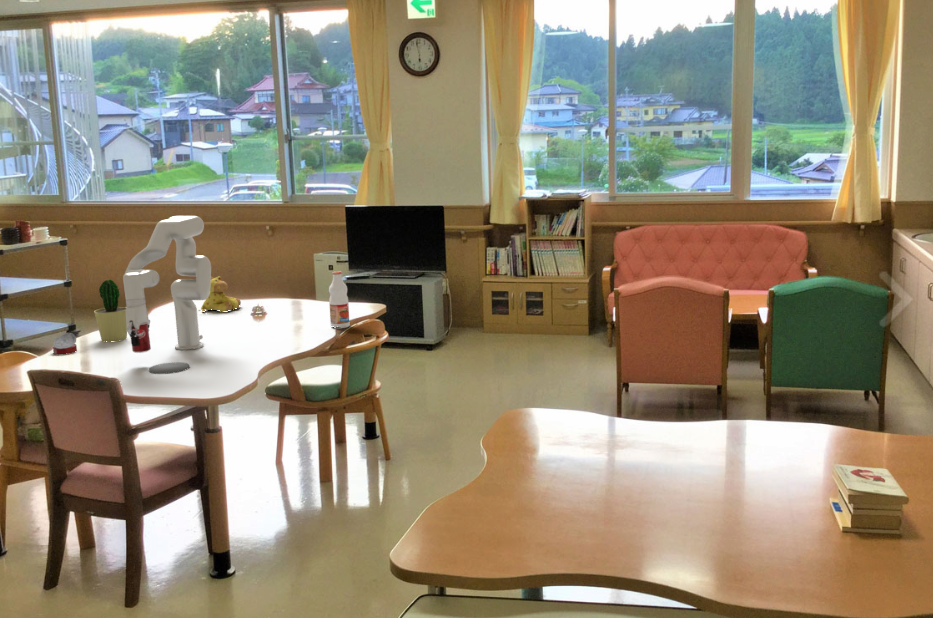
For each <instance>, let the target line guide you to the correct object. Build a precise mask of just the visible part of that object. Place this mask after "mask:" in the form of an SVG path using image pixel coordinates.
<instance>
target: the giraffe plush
mask: <svg viewBox="0 0 933 618" xmlns="http://www.w3.org/2000/svg"><path fill="white" fill-rule="evenodd" d="M228 289H229V285H228V283H227V282H226V281H224V280H222V276H220V275H218V276H216V277H214V276H212V275H211V284H210V294H209V296H208V298H207V299H205V300H204V302H203V304H202V305H201V306H200V310H202V311H205V310H211V309H212V310H220V311H228V310H231V311H233V310H232V309H235V308H238V307H239V305H240V306H241V303H242V302H241V300H240V298H235V297H232V296H228V295H227V296H226V295H225V292H227V290H228ZM239 308H240V307H239ZM239 308H238V309H239ZM202 311H201V312H202Z"/></svg>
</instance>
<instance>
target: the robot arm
mask: <svg viewBox="0 0 933 618" xmlns="http://www.w3.org/2000/svg"><path fill="white" fill-rule="evenodd" d="M204 229H205V222H204V221H203V219H202V218H201V217H200V216H197V215H174V216H170V217H168V218H167V219H162V220H160V221H158V222H157V224H156V225H155V227H154V230H153V232H152V234H151V236H150V238H149V241H148V243H147V245H146V246H145V247H144V248H143V249H141V250H140V251H139V252H137V254H136V255H134V256H133V257H132V258H131V260H130V261H129V263H128V264H127V265H128V266H127V267H126V269H125V272H124V274H123V276H122V282H123V287H124V288H123V289H124V294H125V295H124V296H125V304H126V305H125V307H126V325H127V335H129V338H130V343H131V347H132V346H139V338H138V336H137V334H138V330H139V326H140V325H141V324H144V323H146V322H147V323H148V330H149V331H150V324H151V320H150V319H149V313H148V309H147V306H146V303H147V302H146V296H145V295H146V294H145V288H154V287H155V286H157V285H158V284H159V282H160V274H159V273H158V272H157V270H154V269H151V268H150V269H147V268H145V269H144V267H146V266H147V265H149V264H151V263H154V262H155V261H158V260H160V259H162V258H164V257H166V256H167V254H168V251H169V249H170V246H171V243H172V241H173V240H174V242H175V247H176V248H175V249H176V250H175V251H176V253H175V272H176V274H177V275H179V276H181V277H182V276H183V277H195V278H194V279H193V278H178V279H176V280H174V281H173V282H172V283H171V285H170V293H171V298H172V301H173V304H174V305H173V306H174V314H175V324H176V334H177V335H176V336H177V344H175V345H174V349H175V350H177V351H179V350H180V351H190V349H191V350H197V349H200V348H203V347H204V343H203V342H202V341H200V340H202V339H203V335H202V334H200V332H199V331H200V329H199V319H198V307H197V306H196V304H195V301H205V300H206V299H207V298H208V296H209V294H210V284H211V277H212V263H211V261H210V259H209V257H207V256H206V255H202V254H201V255H198V254H197V245H196V241H195V239H194V237H196V236H200V235H201V234H202V233H203V231H204ZM133 326H134V327H135V329H132V327H133ZM133 331H135V333H134V332H133Z"/></svg>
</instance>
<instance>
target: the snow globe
mask: <svg viewBox="0 0 933 618" xmlns="http://www.w3.org/2000/svg"><path fill="white" fill-rule="evenodd" d="M52 342H53V343H52V346H53V347H52V352H53V354H54V355H56V354H63V355H67V354H66V353H70V354H73V353H72V352H74V353H76V352H75V351H77V352H78V347H77V344H76V343H77V336H76V335H75V333H72V332H65V333H62V334H60V335H58V336H57V337H56V338H55V339H54V340H53V341H52Z"/></svg>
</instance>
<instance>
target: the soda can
mask: <svg viewBox="0 0 933 618" xmlns="http://www.w3.org/2000/svg"><path fill="white" fill-rule="evenodd" d="M132 329H135V327H134V326H133V327H132ZM133 332H134V333H135V331H133ZM137 336H138V338H139V346H132V345H131V349H132V350H131V351H132V352H133V353H136V354H142V353H143V354H144V353H147V352H150V350H151V348H152V347H151V338H150V329H149V330H148V323H147V322H146V323H144V324H141V325H140V326H139V330H138V334H137Z"/></svg>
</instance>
